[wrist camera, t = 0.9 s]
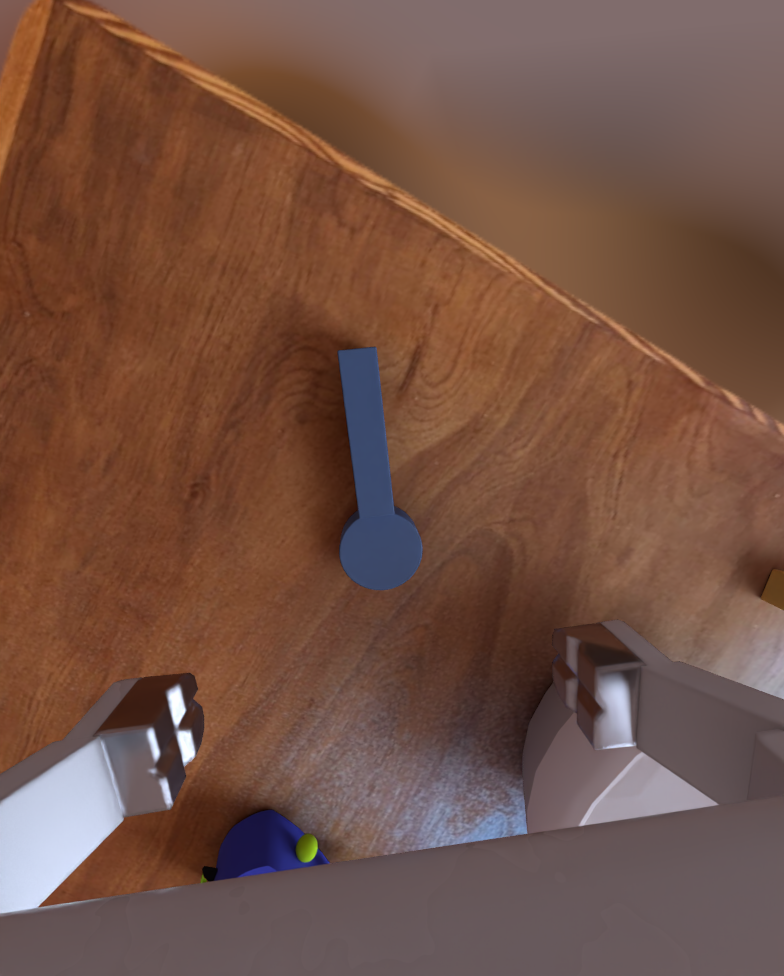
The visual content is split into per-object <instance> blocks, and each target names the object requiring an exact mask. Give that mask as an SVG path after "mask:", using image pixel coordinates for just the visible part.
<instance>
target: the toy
mask: <svg viewBox="0 0 784 976" xmlns="http://www.w3.org/2000/svg"><path fill="white" fill-rule="evenodd" d="M324 864H330V863H329V861H328V860H327V859H326V857H325V856H324V855H323V853H322V852H321V851H320V850H319V849H318V844H317V840H316V838H315V837H314V836H313V835H312V834H304V833H303V832H302V831H301V830H300V829H299V828H298V827H297V826H295V825H294V824H293V823H291V822H290V821H289V820H287V819H286V818H285V817H283V816H281V815H280V814H278V813H277V812H275V811H274V810H266V811H262V812H258V813H256V814H253V815H251V816H249V817H247V818H246V819H244V820H242V821H241V822H239V823H238V824H236V825H235V826H234V827H233V828H232V829H231V830H230V831H229V833H228V834H227V836H226V837H225V839H224V841H223V843H222V844H221V847H220V850H219V855H218V860H217V865H216V868H213V867H207V866H204V867H203V868H202V872H203V874H202V877H201V882H200V883H204V882H206V881H207V880H208V881H209V882H211V881H218V880H224V879H231V878H238V877H244V876H251V875H258V874H264V873H271V872H277V871H284V870H291V869H297V868H304V867H310V866H317V865H324ZM203 875H204V877H205V878H206V879H207V880H206V879H205V878H204V877H203Z"/></svg>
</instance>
